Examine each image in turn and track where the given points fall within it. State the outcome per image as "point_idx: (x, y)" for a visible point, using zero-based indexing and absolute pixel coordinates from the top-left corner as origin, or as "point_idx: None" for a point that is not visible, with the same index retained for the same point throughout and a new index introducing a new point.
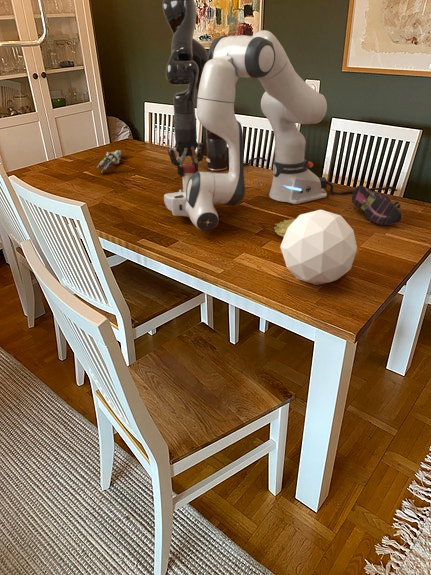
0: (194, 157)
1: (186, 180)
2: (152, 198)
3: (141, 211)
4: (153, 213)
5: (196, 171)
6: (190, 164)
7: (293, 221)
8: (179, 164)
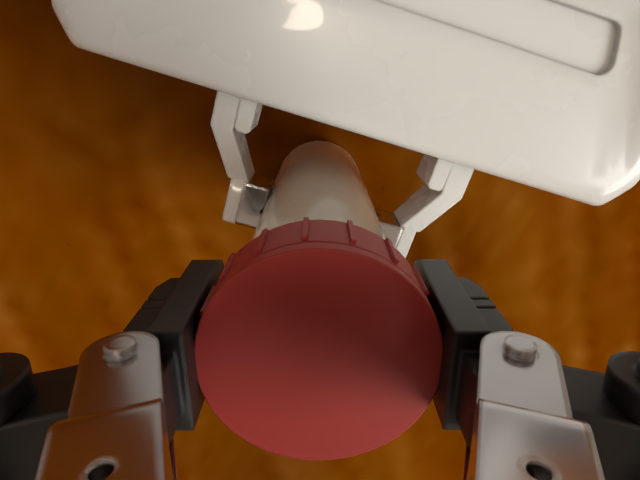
0: (148, 409)
1: (374, 223)
2: (431, 439)
3: (597, 310)
4: (562, 241)
5: (195, 270)
6: (228, 418)
7: None
8: (558, 367)
